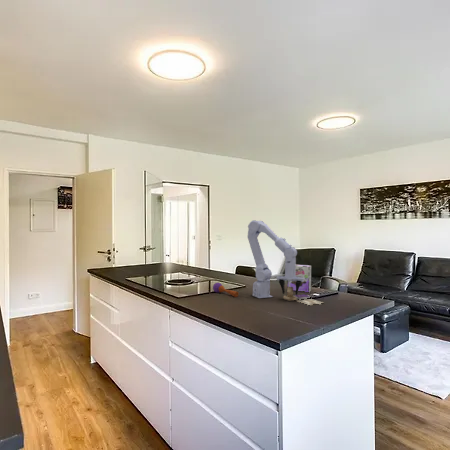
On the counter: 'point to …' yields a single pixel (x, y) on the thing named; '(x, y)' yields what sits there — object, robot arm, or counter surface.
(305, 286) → the candy box
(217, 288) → the maraca
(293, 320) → the counter surface
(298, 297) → the ink pad
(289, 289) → the stamp
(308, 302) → the board
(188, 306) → the counter surface
